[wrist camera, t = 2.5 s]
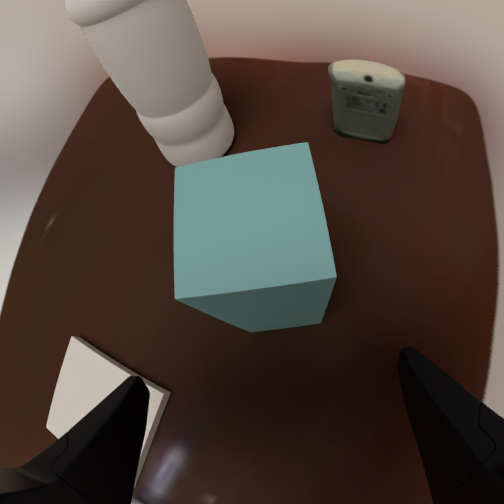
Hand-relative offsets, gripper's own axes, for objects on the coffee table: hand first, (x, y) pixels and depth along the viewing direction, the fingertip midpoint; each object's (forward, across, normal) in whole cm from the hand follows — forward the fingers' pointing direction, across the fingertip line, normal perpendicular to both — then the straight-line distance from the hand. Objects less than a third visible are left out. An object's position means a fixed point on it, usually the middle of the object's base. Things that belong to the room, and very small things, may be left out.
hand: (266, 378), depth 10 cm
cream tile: (+6, +16, +11) cm, 20 cm away
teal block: (+12, 0, +5) cm, 13 cm away
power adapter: (+22, -9, -5) cm, 24 cm away
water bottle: (+23, +6, -6) cm, 24 cm away
